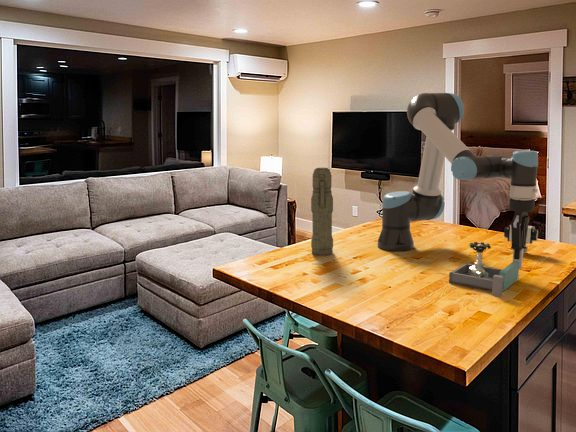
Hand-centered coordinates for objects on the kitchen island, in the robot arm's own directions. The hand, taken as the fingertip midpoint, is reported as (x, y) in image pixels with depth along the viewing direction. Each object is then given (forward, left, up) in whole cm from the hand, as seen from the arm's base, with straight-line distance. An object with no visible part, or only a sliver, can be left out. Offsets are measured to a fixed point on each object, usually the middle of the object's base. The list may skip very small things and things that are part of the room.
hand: (517, 267), depth 163 cm
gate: (0, -8, -4) cm, 9 cm away
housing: (-7, -12, -4) cm, 15 cm away
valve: (-9, -11, -3) cm, 14 cm away
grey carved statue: (-72, -13, -4) cm, 73 cm away
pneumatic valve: (-9, +36, -4) cm, 38 cm away
